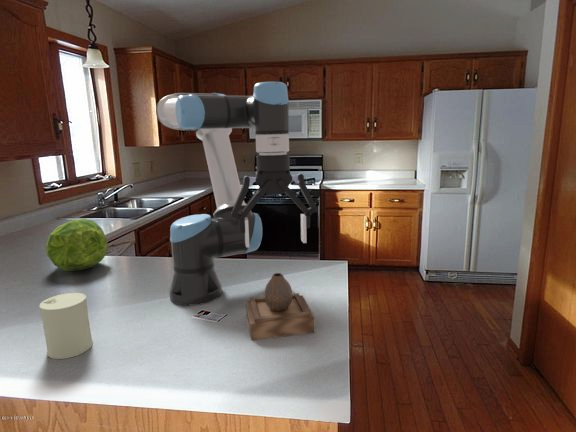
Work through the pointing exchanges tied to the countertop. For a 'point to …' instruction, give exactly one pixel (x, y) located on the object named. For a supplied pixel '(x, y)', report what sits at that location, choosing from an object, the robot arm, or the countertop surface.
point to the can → (66, 325)
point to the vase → (278, 293)
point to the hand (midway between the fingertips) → (275, 243)
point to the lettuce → (77, 245)
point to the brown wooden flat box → (279, 318)
